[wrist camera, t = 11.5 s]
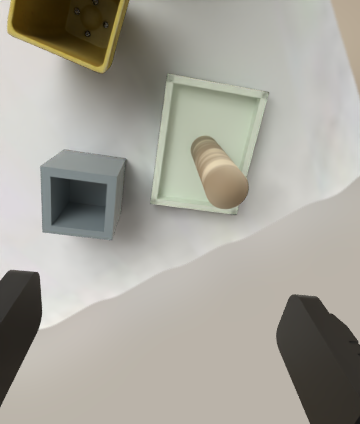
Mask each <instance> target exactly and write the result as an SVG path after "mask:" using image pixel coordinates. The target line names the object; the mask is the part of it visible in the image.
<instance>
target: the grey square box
mask: <svg viewBox="0 0 360 424" xmlns="http://www.w3.org/2000/svg"><path fill="white" fill-rule="evenodd" d="M125 161H126V159H125V158H118V157H112V156H105V155H98V154H91V153H84V152H77V151H71V150H63V151H61V152H60V153H58V154H57V155H56V156H54V157H53V158H51V159H50V160H48V161H47V162H46V163H44V164H43V165H41V166H40V169H41V200H42V230H43V232H44V233H53V234H62V235H70V236H79V237H88V238H97V239H106V240H112V239H113V236H114V233H115V230H116V226H117V223H118V220H119V217H120V214H121V207H122V195H123V184H124V173H125Z"/></svg>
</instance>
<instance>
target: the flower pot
mask: <svg viewBox="0 0 360 424" xmlns="http://www.w3.org/2000/svg"><path fill="white" fill-rule="evenodd" d="M128 3H129V0H98V4H97V5H94V4H93V0H11V2H10V9H9V15H8V21H7V31H8V34H10V35H11V36H13V37H15V38H17V39H20V40H23V41H25V42H27V43H30V44H32V45H34V46H37V47H39V48H42V49H44V50H47V51H49V52H51V53H53V54H56V55H58V56H60V57H63V58H65V59H67V60H70V61H72V62H75V63H77V64H79V65H81V66H84V67H86V68H88V69H91V70H93V71H95V72H98V73H105V72H106V71H107V70H108V69H109V68H110V66H111V64H112V61H113V57H114V53H115V49H116V45H117V42H118V38H119V34H120V31H121V27H122V24H123V20H124V17H125V13H126V10H127V7H128ZM76 8H78V9H79V11H80V13H79V14H76V13H75V11H74V10H75V9H76ZM104 22H107V23H108V27H107V28H105V27H104V26H103V23H104ZM86 31H89V32H90V36H89V37H87V36H86V35H85V32H86Z"/></svg>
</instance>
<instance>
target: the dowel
mask: <svg viewBox="0 0 360 424" xmlns="http://www.w3.org/2000/svg"><path fill="white" fill-rule="evenodd" d="M191 155H192V158H193V160H194V163H195V166H196V169H197V171H198V174H199V177H200V180H201V182H202V185H203V188H204V191H205V194H206V196H207V199H208V200H209V202H210V203H211V204H212V205H213V206H215V207H217V208H220V209H231V208H234V207H236V206H238V205H239V204H241V203H242V202H243V200H244V199H245V198H246V196H247V193H248V188H249V187H248V181H247V179H246V177H245V176H244V174H243V173H242V172H241V171H240V170H239V168H238V167H237V166H236V165H235V164H234V162H233V161H232V160H231V159H230V158H229V156H228V155H227V154H226V153H225V152H224V150H223V149H222V148H221V147H220V146H219V144H218V143H217V142H216V141H215V140H214V139H213V138H212V137H210V136H200V137H198V138H197V139H195V140H194V142H193V143H192V145H191Z"/></svg>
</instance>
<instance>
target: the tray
mask: <svg viewBox="0 0 360 424" xmlns="http://www.w3.org/2000/svg"><path fill="white" fill-rule="evenodd" d="M268 95H269V92H266V91H260V90H255V89H249V88H244V87H238V86H233V85H227V84H222V83H216V82H211V81H205V80H200V79H194V78H189V77H183V76H178V75H172V74H167V80H166V87H165V95H164V102H163V110H162V118H161V125H160V133H159V140H158V148H157V156H156V163H155V171H154V178H153V186H152V194H151V202H150V204H155V205H163V206H171V207H179V208H186V209H194V210H202V211H209V212H217V213H225V214H233V215H236V214H237V211H238V207H239V205H238V206H236V207H234V208H231V209H220V208H217V207H215V206H213V205H212V204H211V203H210V202H209V200H208V199H207V196H206V194H205V191H204V188H203V185H202V182H201V180H200V177H199V174H198V171H197V169H196V166H195V163H194V160H193V158H192V155H191V145H192V143H193V142H194V140H195V139H197V138H198V137H200V136H210V137H212V138H213V139H214V140H215V141H216V142H217V143H218V144H219V146H220V147H221V148H222V149H223V150H224V152H225V153H226V154H227V155H228V156H229V158H230V159H231V160H232V161H233V162H234V164H235V165H236V166H237V167H238V168H239V170H240V171H241V172H242V173H243V174H244V176H245V177H247V173H248V170H249V166H250V162H251V158H252V155H253V151H254V147H255V143H256V140H257V136H258V132H259V128H260V125H261V121H262V117H263V113H264V110H265V106H266V102H267V98H268Z"/></svg>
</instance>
